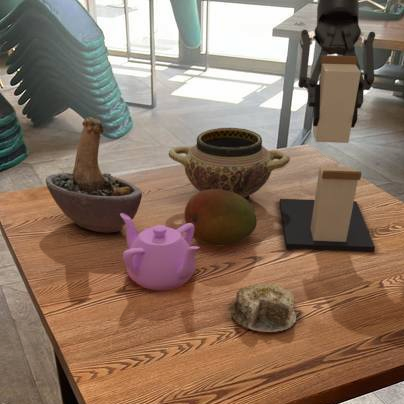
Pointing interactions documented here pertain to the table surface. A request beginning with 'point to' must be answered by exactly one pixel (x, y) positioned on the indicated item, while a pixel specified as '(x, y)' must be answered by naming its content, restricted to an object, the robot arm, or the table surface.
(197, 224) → the fruit
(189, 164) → the ceramic bowl
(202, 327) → the table surface
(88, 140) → the planter
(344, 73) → the cream rectangular block
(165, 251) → the teapot
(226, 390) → the table surface
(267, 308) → the cake
